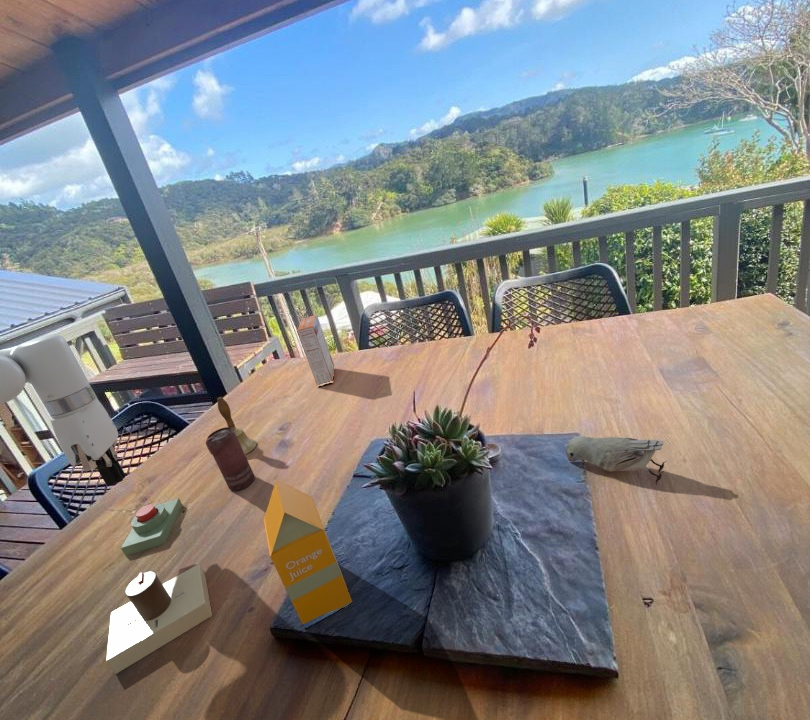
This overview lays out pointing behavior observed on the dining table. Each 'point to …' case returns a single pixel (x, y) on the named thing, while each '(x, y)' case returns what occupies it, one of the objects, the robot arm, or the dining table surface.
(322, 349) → the cracker box
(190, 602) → the panel
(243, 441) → the hand bell
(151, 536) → the button block
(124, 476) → the robot arm
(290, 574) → the orange juice
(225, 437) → the can
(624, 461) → the decorative bird
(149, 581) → the knob
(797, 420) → the dining table surface
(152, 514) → the button
